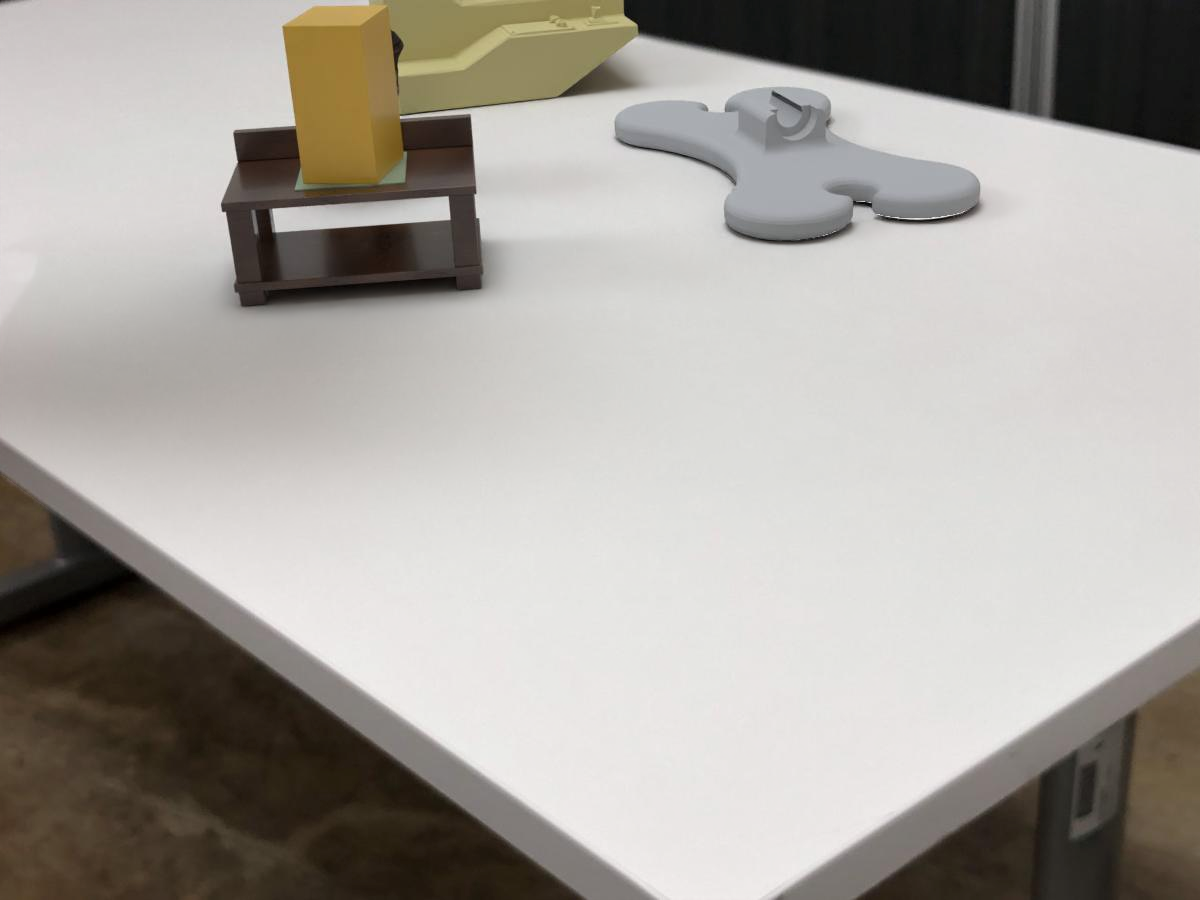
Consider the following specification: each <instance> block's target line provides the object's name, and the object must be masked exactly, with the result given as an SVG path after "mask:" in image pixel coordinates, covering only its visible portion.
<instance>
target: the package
mask: <svg viewBox="0 0 1200 900" xmlns="http://www.w3.org/2000/svg"><path fill="white" fill-rule="evenodd" d="M281 27H282V28H281V29H282V35H283V42H284V49H285V57H286V65H287V72H288V79H289V87H290V93H291V101H292V109H293V110H292V111H293V117H294V122H295V124H294V126H296V132H297V140H298V147H299V154H300V162H301V169H302V177H303V183H314V184H378V183H379V182H380V181H381V180H382V179H383V178H384V177H385V176H386V175H387V174H388V173H389V172H390V171H391V170H392V169H393V168H394V167H395V166H396V165H397V164H398V163H399V162H400V161H401V159H402V158H403V157H404V152H403V143H402V133H401V123H400V119H401V114H399V104H398V94H397V85H396V75H395V65H394V56H393V46H392V37H391V27H390V17H389V8H388V5H369V4H368V5H314V6H312V7H311V8H309V9H307V10H306V11H304V12H303V13H301V14H300V15H298V16H296V17H294V18H292V19H291V20H290V21H288V22H287V23H284V24H283V25H281Z"/></svg>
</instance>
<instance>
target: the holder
mask: <svg viewBox="0 0 1200 900" xmlns="http://www.w3.org/2000/svg"><path fill="white" fill-rule="evenodd" d="M831 114H832V104H831V100H830V99H829V97H828V96H827V95H825V94H824V93H823V92H820V91H818V90H815V89H809V88H805V87H797V86H767V87H759V88H758V87H757V88H752V89H748V90H743V91H740V92H737V93H735V94H733V95H731V96H730V97H729V98H728V99H727V100H726V101H725V103H724V111H723V112H722V111H721V112H720V111H719V112H718V111H709V107H708V106H707V105H706V104H705V103H703V102H699V101H694V100H693V101H692V100H681V99H680V100H675V99H673V100H672V99H670V100H668V99H667V100H655V101H647V102H642V103H638V104H634V105H631V106H628V107H626V108H624V109H622V110H621V111H619V112H618V113H617V115H616V117H614V122H613V123H614V133H615V135H616V137H617V138H618V140H620V141H622V142H623V143H625V144H627V145H631V146H634V147H639V148H645V149H651V150H652V149H653V150H658V151H659V150H660V151H665V152H670V153H675V154H679V155H683V156H686V157H690V158H693V159H697V160H700V161H702V162H705V163H707V164H710V165H712V166H714V167H716V168H718V169H720V170H722V171H723V172H725V173H726V174H727V175H729V176H730V177H731V178H732V179H733V181H734V182H735V186H734V188H733V190H731V192H730V193H729V194H728V195H727V196H726V197H725V200H724V203H723V217H724V220H725V222H726V223H727V225H728V226H729V227H730V228H731V229H733V230H734V231H736V232H738V233H740V234H742V235H744V236H749V237H752V238H755V239H761V240H767V241H768V240H769V241H782V240H791V241H799V240H798V239H806V240H808V239H807V238H813V237H818V236H823V235H826V234H830V233H832V232H834V231H837V232H839V231H841V230H842V229H841V228H843V229H845V228H846V227H847V226H848V225H849V224H850V222H851V221H852V218H853V216H854V202H853V201H865V202H871V203H872V204H871V210H872V212H873V213H874V214H875V215H876V214H880V215H883V216H890V217H899V218H932V217H941V216H947V215H953V214H957V213H961V212H963V211H966V210H968V209H970V208H972V207H973V206H974V207H975V206H976V205H978V203H979V200H980V197H981V182H980V179H979V178H978V177H977V176H976V174H974V173H973V172H972V171H970V170H968V169H966V168H964V167H961V166H959V165H955V164H951V163H946V162H940V161H934V160H926V159H919V158H913V157H907V156H902V155H897V154H892V153H889V152H888V153H887V152H883V151H880V150H876V149H871V148H869V147H866V146H863V145H859V144H856V143H854V142H851V141H849V140H847V139H844V138H842V137H841V136H839V135H837V134H835V133H833V132H832V131H831V130H829V128H828V127H827V121H828V120H829V119H830V118H831ZM974 207H973V208H974ZM973 208H972V209H973ZM970 210H971V209H970ZM847 224H848V225H847ZM846 225H847V226H846ZM845 226H846V227H845ZM840 229H841V230H840ZM838 230H839V231H838ZM830 235H831V234H830ZM823 237H824V236H823ZM813 239H814V238H813Z"/></svg>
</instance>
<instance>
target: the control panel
mask: <svg viewBox="0 0 1200 900" xmlns="http://www.w3.org/2000/svg"><path fill="white" fill-rule="evenodd" d="M368 5H388V8H389V17H390V27H391V30H392V31H394V32H395V33H396V34H397V35H398V36H399V38H400V39H401V40H402V42H403V44H404V47H403V50H402V51H401V54H400V56H399V59H398V84H399V89H400V90H399V95H398V104H399V114H400V115H409V114H415V113H423V112H433V111H442V110H444V111H445V110H452V109H461V108H471V107H480V106H489V105H497V104H498V105H499V104H507V103H514V102H523V101H524V102H525V101H532V100H543V99H551V98H552V99H553V98H558V97H560V95H562V94H563V93H565V92H566V91H568V90H569V89H570V88H572V87H573V86H574V85H575V84H577V83H578V82H579V81H580V80H581V79H584V78H585V77H586V76H587V75H588V74H589V73H591V72H592V71H594V70H595V69H596V68H597V67H599V66H600V65H602V63H605V61H607V60H608V59H610V57H612V56H613V55H614V54H616V53H617V52H619V51H620V50H621V49H623V47H626V45H628V44H629V43H630V42H631V41H633V40H634V39H635V38H637V37H638V36H639V26H638V24H637V23H636V22H635V21H633V20H631V19H630V18H628V17H627V16H625V10H624V9H625V1H624V0H368Z"/></svg>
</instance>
